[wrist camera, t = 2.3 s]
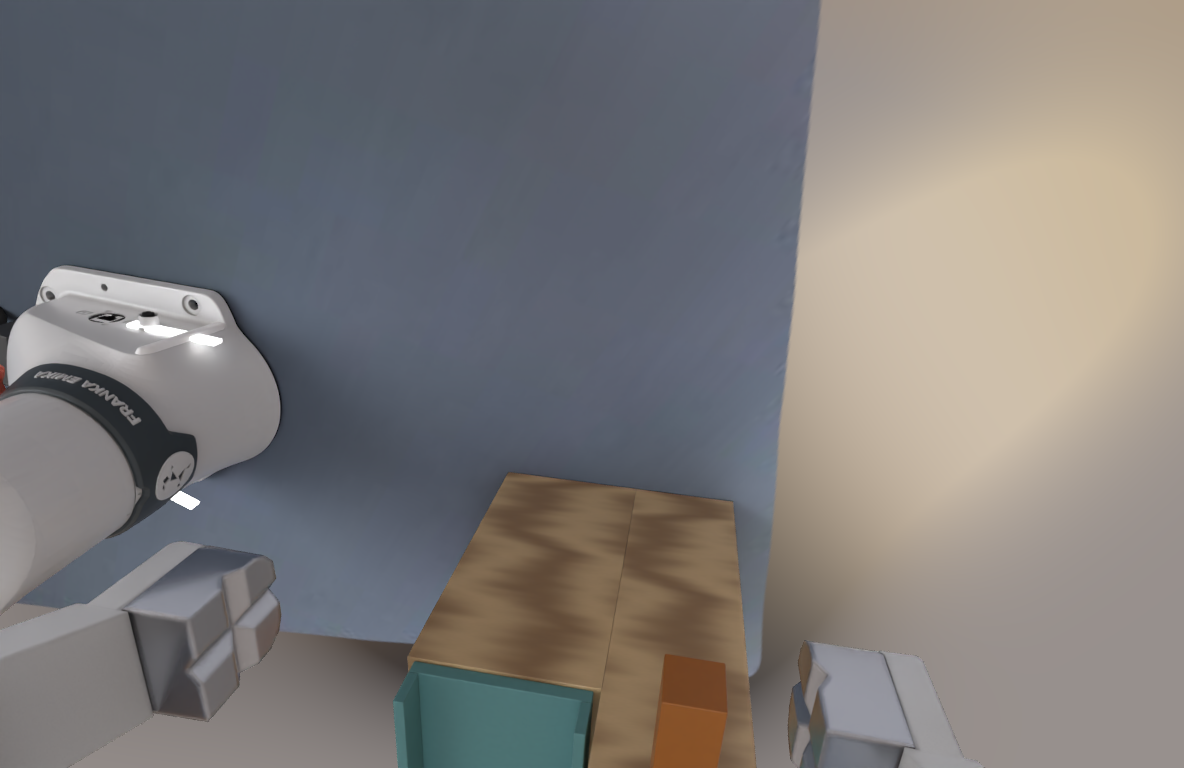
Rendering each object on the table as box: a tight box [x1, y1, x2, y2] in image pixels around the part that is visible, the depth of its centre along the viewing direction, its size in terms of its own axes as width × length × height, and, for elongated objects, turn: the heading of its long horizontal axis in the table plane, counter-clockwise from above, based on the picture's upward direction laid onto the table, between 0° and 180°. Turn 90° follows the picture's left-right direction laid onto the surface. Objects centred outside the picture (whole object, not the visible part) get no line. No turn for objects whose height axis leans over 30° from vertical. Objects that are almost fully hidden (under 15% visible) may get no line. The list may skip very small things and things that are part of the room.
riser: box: [408, 472, 756, 768], centre depth 45 cm, size 19×14×26 cm
